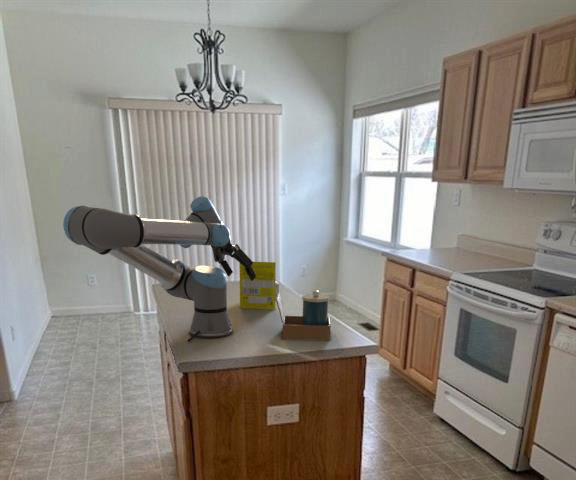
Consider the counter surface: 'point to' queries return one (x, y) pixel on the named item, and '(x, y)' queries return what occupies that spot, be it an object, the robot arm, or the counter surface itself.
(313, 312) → the cookie jar
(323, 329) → the carton
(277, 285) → the lumpy-topped squat cylinder
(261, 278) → the food package
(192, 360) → the counter surface
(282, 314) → the flap
